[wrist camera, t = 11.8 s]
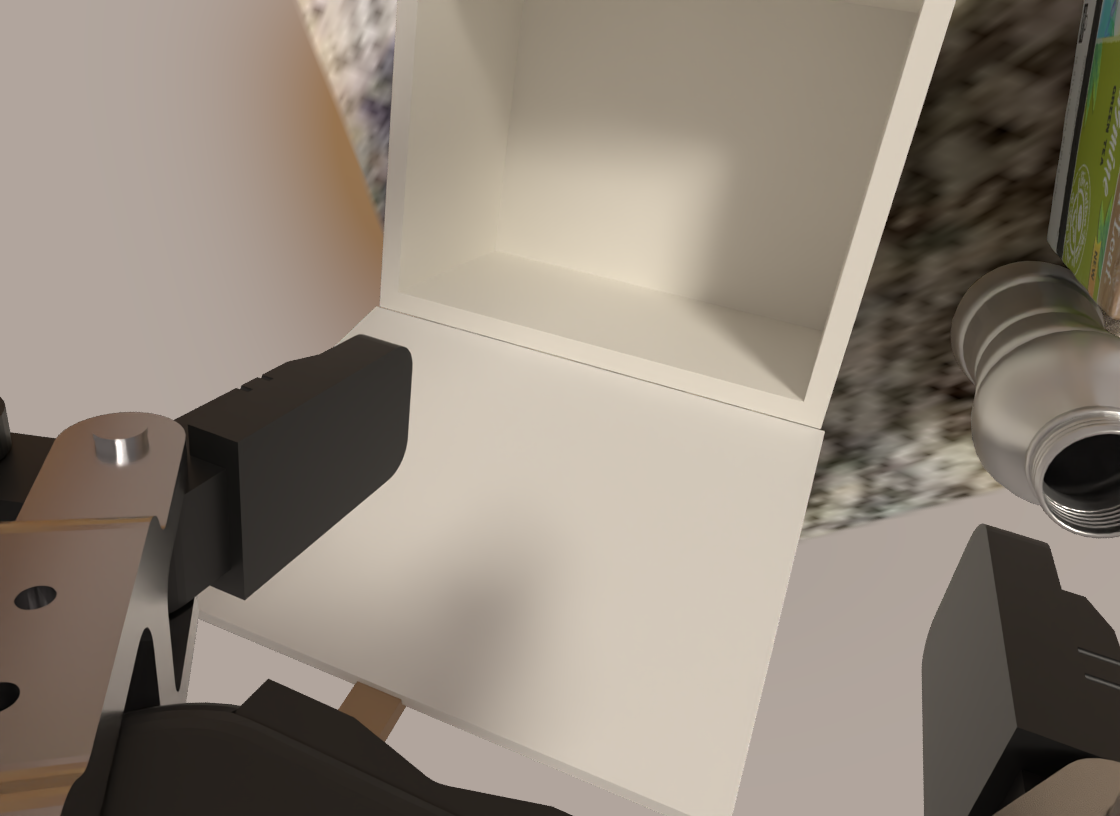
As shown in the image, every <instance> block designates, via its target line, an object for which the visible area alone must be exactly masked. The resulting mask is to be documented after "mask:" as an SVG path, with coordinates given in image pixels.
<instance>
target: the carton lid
mask: <svg viewBox="0 0 1120 816" xmlns="http://www.w3.org/2000/svg"><path fill="white" fill-rule="evenodd" d="M358 334H364V335H367V336H371V337H374V338H377V339H381V340H384V341H387V342H390V343H394V344H397V345H400V346H404V347H406V348H408V350H409V351H410V353H411V356H412V362H413V368H412V384H411V399H410V414H409V430H408V442H407V447H406V451H405V454H404V457H403V460H402V462H401V464H400V466H399V468H398V469H397V471H396V472H395V474H394V475H393V476H392V477H391V478H390V479H389V480H388V481H387V482H386V483H384V484H383V485H382V486H381V487H380V488H378V489H377V490H376V491H375V492H374V493H373V494H371V495H370V496H369V497H368V498H367V499H365V500H364V501H363V502H362V503H361V504H359V505H358V506H357V507H356V508H355V509H353V510H352V511H351V512H350V513H349V514H347V515H346V516H345V517H344V518H343V519H341V520H340V521H339V522H338V523H337V524H336V525H334V526H333V527H332V528H331V529H330V530H328V531H327V532H326V533H325V534H324V535H322V536H321V537H320V538H319V539H318V540H316V541H315V542H314V543H313V544H312V545H310V546H309V547H308V548H307V549H306V550H304V551H303V552H302V553H301V554H300V555H299V556H297V557H296V558H295V559H294V560H293V561H291V562H290V563H289V564H288V565H287V566H285V567H284V568H283V569H282V570H281V571H279V572H278V573H277V574H276V575H275V576H273V577H272V578H271V579H270V580H269V581H267V582H266V583H265V584H264V585H263V586H262V587H260V588H259V589H258V590H257V591H256V592H254V593H253V594H252V595H251V596H250V597H248V598H247V599H246V600H242V599H240V598H238V597H235V596H233V595H230V594H228V593H226V592H223V591H221V590H219V589H216V588H214V587H212V586H209V587H207V588H206V589H205V590H204V591H202V592H201V593H200V594H198V604H199V617H198V619H201V620H203V621H205V622H208V623H210V624H212V625H215V626H217V627H220V628H222V629H224V630H227V631H229V632H231V633H234V634H236V635H239V636H241V637H243V638H246V639H248V640H251V641H253V642H255V643H258V644H260V645H262V646H265V647H267V648H269V649H272V650H274V651H277V652H279V653H281V654H284V655H286V656H288V657H291V658H293V659H296V660H298V661H300V662H303V663H305V664H307V665H310V666H312V667H314V668H317V669H319V670H322V671H324V672H326V673H329V674H331V675H334V676H336V677H339V678H341V679H343V680H345V681H348V682H350V683H353V684H355V685H354V687H353V689H352V690H351V692H350V693H349V694H348V696H347V697H346V699H345V701H344V702H343V703H342V705H341V706H340V708H339V709H338V710H339V711H341V712H343V713H346V714H348V715H350V716H352V717H354V718H356V719H357V720H358V721H359V722H361V723H362V724H363V725H364V726H365V727H367V728H368V729H369V730H370V731H372V732H373V733H374V734H375V735H376V736H378V737H379V738H380V739H381V740H383V741H384V742H385V741H386V739H387V737H388V736H389V734H390V732H391V731H392V729H393V727H394V726H395V724H396V722H397V721H398V719H399V717H400V716H401V714H402V712H403V711H404V709H405V707H406V706H407V707H410V708H412V709H414V710H417V711H419V712H421V713H424V714H426V715H428V716H431V717H433V718H436V719H438V720H440V721H443V722H445V723H447V724H450V725H452V726H455V727H457V728H459V729H462V730H464V731H467V732H469V733H471V734H474V735H476V736H478V737H481V738H483V739H485V740H488V741H490V742H493V743H495V744H497V745H500V746H502V747H504V748H507V749H509V750H512V751H514V752H516V753H519V754H521V755H524V756H526V757H528V758H531V759H533V760H535V761H538V762H540V763H542V764H545V765H547V766H549V767H552V768H554V769H557V770H559V771H561V772H564V773H566V774H569V775H571V776H574V777H576V778H578V779H580V780H583V781H585V782H587V783H590V784H593V785H595V786H597V787H599V788H602V789H604V790H606V791H609V792H611V793H614V794H616V795H618V796H621V797H623V798H625V799H628V800H630V801H633V802H635V803H637V804H640V805H642V806H645V807H647V808H649V809H652V810H654V811H656V812H659V813H661V814H663V815H666V816H732V814H733V809H734V806H735V801H736V798H737V793H738V789H739V785H740V781H741V777H742V773H743V769H744V764H745V760H746V756H747V752H748V748H749V744H750V740H751V736H752V731H753V727H754V723H755V719H756V715H757V710H758V707H759V702H760V698H761V694H762V690H763V686H764V682H765V678H766V673H767V669H768V665H769V661H770V657H771V653H772V648H773V645H774V640H775V636H776V632H777V628H778V624H779V620H780V616H781V611H782V607H783V603H784V599H785V595H786V591H787V587H788V583H789V578H790V574H791V570H792V566H793V562H794V558H795V554H796V549H797V545H798V541H799V537H800V533H801V529H802V525H803V521H804V516H805V512H806V508H807V504H808V500H809V496H810V492H811V487H812V483H813V479H814V475H815V471H816V467H817V463H818V459H819V454H820V450H821V446H822V442H823V438H824V434H825V431H822V430H818V429H815V428H811V427H808V426H804V425H801V424H797V423H793V422H790V421H786V420H783V419H779V418H775V417H772V416H768V415H765V414H761V413H757V412H754V411H750V410H747V409H743V408H740V407H736V406H732V405H729V404H725V403H722V402H718V401H714V400H711V399H707V398H704V397H700V396H696V395H693V394H689V393H686V392H682V391H679V390H675V389H671V388H668V387H664V386H661V385H657V384H653V383H650V382H646V381H643V380H639V379H635V378H632V377H628V376H625V375H621V374H618V373H614V372H610V371H607V370H603V369H600V368H596V367H592V366H589V365H585V364H582V363H578V362H574V361H571V360H567V359H564V358H560V357H557V356H553V355H549V354H546V353H542V352H539V351H535V350H531V349H528V348H524V347H521V346H517V345H513V344H510V343H506V342H503V341H499V340H495V339H492V338H488V337H485V336H481V335H478V334H474V333H470V332H467V331H463V330H460V329H456V328H452V327H449V326H445V325H442V324H438V323H434V322H431V321H427V320H424V319H420V318H417V317H413V316H409V315H405V314H402V313H399V312H395V311H391V310H388V309H384V308H381V307H377V306H376V307H375V308H374V309H373V310H372V311H371V312H370V313H369V314H368V315H367V316H366V317H364V318H363V319H362V320H361V321H360V322H359V323H358V324H357V325H356V326H355V327H354V328H353V329H352V330H351V331H350V332H349V333H348V334H347V335H346V336H344V337H343V338H342V339H341V340H340V341H339V342H338V343H337V344H336V345H335V346H337V345H338V344H340V343H342V342H344V341H346V340H348V339H350V338H352V337H354V336H356V335H358ZM335 346H334V347H335Z"/></svg>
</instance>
